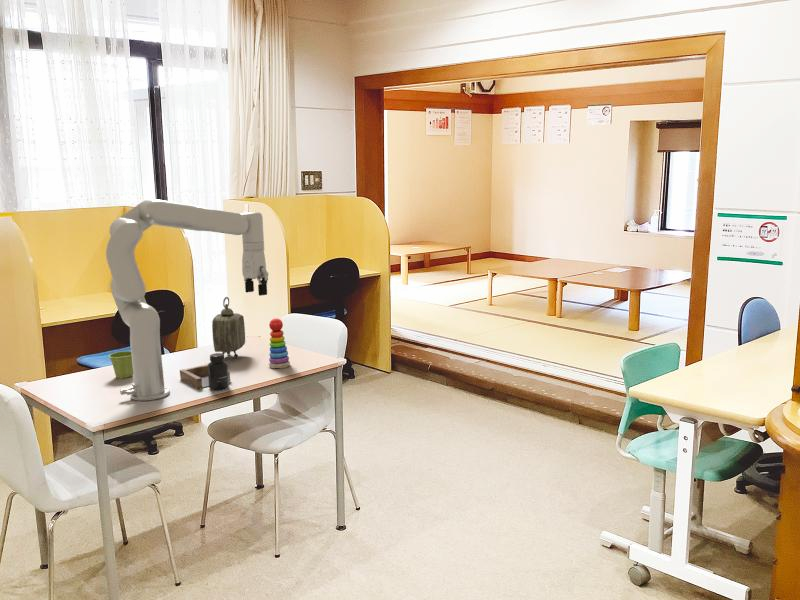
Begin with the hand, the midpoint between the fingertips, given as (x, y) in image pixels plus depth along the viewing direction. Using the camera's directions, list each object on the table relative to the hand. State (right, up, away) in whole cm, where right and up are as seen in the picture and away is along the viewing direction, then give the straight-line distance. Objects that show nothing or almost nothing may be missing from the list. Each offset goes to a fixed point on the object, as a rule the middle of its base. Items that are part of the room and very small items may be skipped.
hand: (256, 293), depth 262 cm
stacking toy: (+6, -28, +14) cm, 32 cm away
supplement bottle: (-11, -33, -10) cm, 37 cm away
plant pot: (-51, -31, +7) cm, 60 cm away
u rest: (-18, -32, -2) cm, 36 cm away
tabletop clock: (-16, -26, +29) cm, 42 cm away
